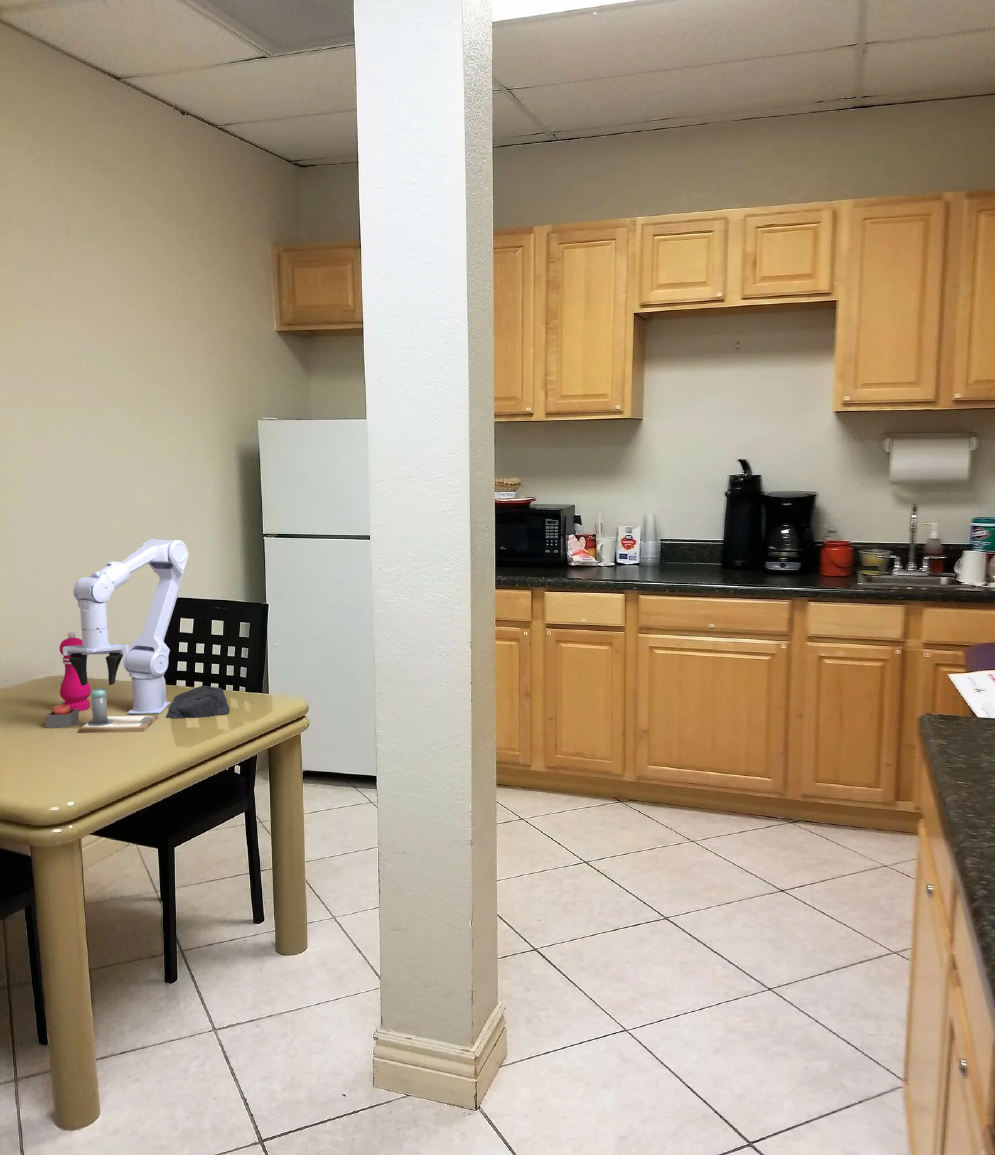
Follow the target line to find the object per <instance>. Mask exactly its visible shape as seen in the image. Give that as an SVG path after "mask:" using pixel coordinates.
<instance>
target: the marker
mask: <svg viewBox="0 0 995 1155" xmlns="http://www.w3.org/2000/svg"><path fill="white" fill-rule="evenodd" d="M90 696H91V706H92V707H91V708H92V709H91V711H92V712H91V713H92V719H93V724H105V723H107V722H108V718H107V716H108V705H107V703H108V702H107V689H106V687H105V688H104V687H97V688H93V689H91V693H90Z"/></svg>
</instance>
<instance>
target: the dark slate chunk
mask: <svg viewBox="0 0 995 1155" xmlns="http://www.w3.org/2000/svg"><path fill="white" fill-rule="evenodd" d="M224 692H225V691H224V690H223V688H221V687H217V686H216V687H214V686H208V685H200V686H198V687H195V688H191V689H190V690H187V691H184V692H182V693H179V694H177V695H175V697H173V699H174V700H173V699H172V702H171V703H170V704H169V706H168V711H167V713H166V717H165V719H172V720H178V719H196V718H197V719H199V718H211V717H215V716H216V717H218V716H221V715H228V714H229V713H230V712H231V711H230V709H231V708H230V705H229V704H228V702H227V701H228V699H227V697H226V695H225V693H224ZM173 701H174V702H173Z"/></svg>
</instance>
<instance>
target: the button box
mask: <svg viewBox="0 0 995 1155" xmlns="http://www.w3.org/2000/svg"><path fill="white" fill-rule="evenodd" d="M79 712H80V711H78V709H70V713H69V714H68V715H54V709H53V710H51V711H49V712H48V713H46V715H45V728H47V729H49V728H50V729H52V728H55V729H56V728H71V727H73V726H74V725H76V724H77V723H78V722H79V721H80V714H79Z"/></svg>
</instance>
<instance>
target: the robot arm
mask: <svg viewBox="0 0 995 1155" xmlns="http://www.w3.org/2000/svg"><path fill="white" fill-rule="evenodd" d="M189 556H190V553H189V551H188V548H187V545H186V544H185V542H184V541H183V540H180V539H175V540H174V539H156V538H149V539H148V540H146V541H145V542H142V543H141V545H140V547H139V548H138V549H136V550H135V551H134V552H133V553H131V554H130V555H129V556H127V557H126V558H125V559H123V560H122V561H121V562H120V561H113V560H112V561H108V562H106V565H105V566H104V567H102V568H101V569H99V570H97V571H96V570H95V571H94V572H92V574H91V575H90V576H88V577H87V576H83V577H81V578H80V579H78V580H77V581H76V583H75V585H74V589H73V590H72V594H73V597H74V598H75V600H76V601H77V607H78V608H79V612H80V627H81V640H82V645H76V646H65V647H63V655H62V656H63V657H64V656H67V655H71V658H69V661H70V663H71V664H72V665H73V667H74V668H75V670H76V672H77V674H78V677H79V680H80V683H81V686H84V685H86V684H87V681H88V672H87V662H88V661H87V659H88V655H107V656H105V661H106V664H107V672H108V673H107V674H108V675H107V676H108V685H109V686H113V685H114V684H116V677H117V673H118V670H119V666H120V663H121V662H122V659H123V668H124V669H125V671H126V672H127V673H128V675H129V677H131V687H132V688H131V690H132V691H131V692H132V708H131V709H130V710H129V711H127V714H128V715H147V714H148V715H156V714H162V712H163V711H164V710H165V709H166V708H167V707H169V706H170V705H171V702H170V701H167V688H166V687H167V686H166V685H167V684H166V679H165V677H164V676H165V673H166V672H167V670H168V667H169V655H170V652H171V649H170V648H169V647H168V646H167V644H166V643H165V637H166V635H167V631H168V628H169V625H170V622H171V618H172V615H173V612H174V608H175V606H176V602H177V599H178V596H179V592H180V590H181V587H182V583H183V580H184V571H185V568H186V565H187V562H188V558H189ZM146 565H148V566H149V567H150V568H151V569H152V571H153V572H154V573H155V574H157V576H158V577H159V580H158V583H157V586H156V589H155V592H154V596H153V598H152V602H151V605H150V609H149V611H148V614H147V618H146V621H145V624H144V627H143V631H142V632H141V633H142V634H141V635H140V636H139V637H138V638H136V639H135V640H133V641H132V642H131V644H130V647H129V644H114V643H113V644H112V643H110V642H109V627H108V624H109V623H108V611H107V601H109V600H110V597H111V596H112V593H113V592H114V591H115V590H116V589H118V588H119V587H121V586H122V585H124V584H125V583H127V582H128V581H129V580H130V574H132V573H134V572H135V571H137V570H140V569H141V568H143V567H144V566H146Z"/></svg>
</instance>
